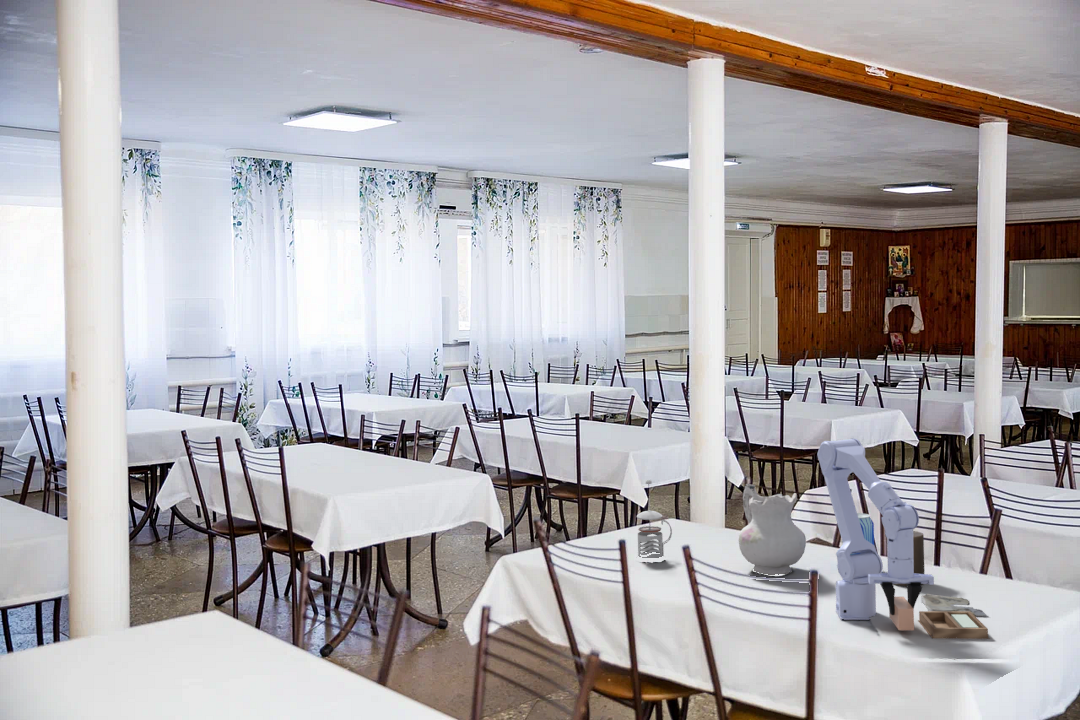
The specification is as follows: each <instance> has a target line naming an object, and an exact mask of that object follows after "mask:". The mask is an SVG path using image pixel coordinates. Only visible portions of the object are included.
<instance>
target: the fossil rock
mask: <svg viewBox="0 0 1080 720" xmlns="http://www.w3.org/2000/svg"><path fill="white" fill-rule="evenodd" d="M920 599H921V604H922V603H923V604H924V605H923V604H922V605H923V606H925V608H926V610H927V611H963V612H971V613H972V614H973V615H974V616H975V617H976V618H990V616H989V615H987V614H986V613H985V611H983V610H982V609H979V608H978V609H977V608H974V607H972V606H968V605H969V603H970V600H969V599H967V598H964V597H958V596H957V597H956V596H946V595H939V594H937V595H936V594H930V593H925V594H922V595H920ZM968 600H969V601H968Z"/></svg>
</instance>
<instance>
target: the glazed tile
mask: <svg viewBox="0 0 1080 720" xmlns="http://www.w3.org/2000/svg"><path fill="white" fill-rule="evenodd" d="M951 617H952V618H953V619H954V620H955V621H956V622H957V623H958V624H959V625H960V627H961V628H979V627H978V626H977V625H976V624H975V623H974V622H973V621H972V620H971V619H970V618H969V617H968V616H967V615H959V614H951Z"/></svg>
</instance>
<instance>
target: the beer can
mask: <svg viewBox="0 0 1080 720" xmlns="http://www.w3.org/2000/svg"><path fill="white" fill-rule="evenodd" d="M857 515H858V518H859V522H860V525H861V528H862V532H863V535H864V539H865V540H867V541H868V542H870V543H871V544H873V545H874V546H875V532H874V531H875V526H874V525H875V524H874V521H873V520H872V518H871V515H870V514H868V513H860V512H857ZM854 554H861V553H854ZM854 554H850V555H854Z"/></svg>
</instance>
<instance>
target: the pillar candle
mask: <svg viewBox="0 0 1080 720" xmlns="http://www.w3.org/2000/svg"><path fill="white" fill-rule="evenodd" d="M924 538H925V537H924V533H923V532H920V531H916V530H913V560H914V573H916V574H925V548H924V547H925V542H924V541H925V539H924ZM886 539H887V540H886V541H887V542H886V544H887V548H886V549H887V554H888V538H887V537H886ZM893 585H896V586H901V587H907V584H893ZM924 585H925V584H921V586H924Z"/></svg>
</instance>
